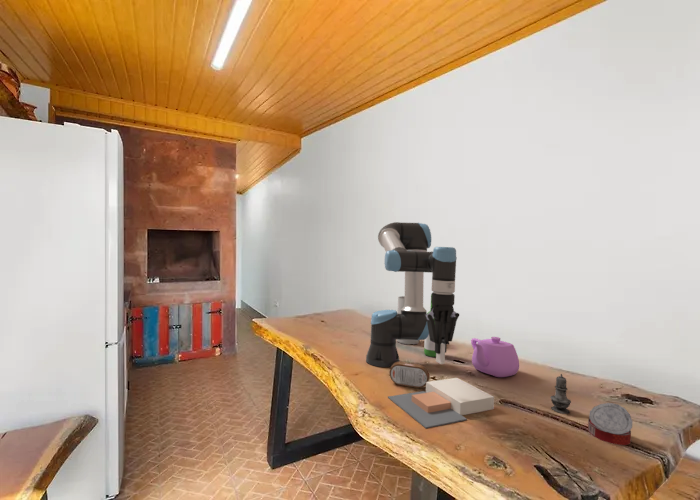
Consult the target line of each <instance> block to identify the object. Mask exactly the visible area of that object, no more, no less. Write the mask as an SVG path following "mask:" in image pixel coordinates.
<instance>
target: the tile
mask: <svg viewBox="0 0 700 500" xmlns="http://www.w3.org/2000/svg"><path fill="white" fill-rule="evenodd" d="M412 402H414V403H415V404H416V405H418V406H419V407H420V408H422V409H423V410H424V411H426V412H427V413H430V412H435V411H440V410H446V409H451V402H449V401H448V400H446V399H445V398H443V397H441V396H440V395H438V394H437V393H435V392H428V393H422V394H416V395H412Z"/></svg>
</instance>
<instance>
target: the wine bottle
mask: <svg viewBox="0 0 700 500" xmlns="http://www.w3.org/2000/svg"><path fill="white" fill-rule="evenodd" d="M429 308H430V310H429V311H428V312H427V314H428V313H429V312H430V311H431V308H432V303H431V302H430V307H429ZM433 317H434V316H433ZM434 323H435V322H434ZM423 341H424V344H423V345H424V347H423V352H424V355H425V356H427V357H431V358H436V353H435V343H434V342H432V341H430V337H429V335H428V337H427V338H426V339H424V340H423Z"/></svg>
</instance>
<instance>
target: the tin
mask: <svg viewBox="0 0 700 500" xmlns="http://www.w3.org/2000/svg"><path fill="white" fill-rule="evenodd" d="M389 378H390V379H391V380H392V382H393V383H394V384H396V385H399V386H406V387H410V388H414V389H415V388H416V389H423V388H426V382H430V378H431V377H430V372H429V369H428V368H427V367H426V366H424V365H422V364H419V363H418V364H417V363H414V362H413V363H412V362H411V363H410V362H407V361H405V362H404V361H399V362H396V363H394V364H393V365H392V366H391V367H390V370H389Z"/></svg>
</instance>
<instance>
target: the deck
mask: <svg viewBox="0 0 700 500" xmlns="http://www.w3.org/2000/svg"><path fill="white" fill-rule="evenodd" d="M425 392H426V393H428V392H435V393H437V394H438V395H440V396H441V397H443V398H445V399H446V400H448V401H449V402H451V409H453V410H454V411H456V412H457V413H459V414H460V415H462V416H465V415H470V414H476V413H482V412H486V411H491V410H494V409H495V407H494V406H495V396H493V395H492V394H490V393H488V392H486V391H483V390H482V389H480V388H478V387H476V386H474V385H472V384H471V383H469V382H466V381H464V380H463V379H460V378H458V377H452V378H444V379H438V380H431V381H430V380H429V381H428V382H426V386H425Z"/></svg>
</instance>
